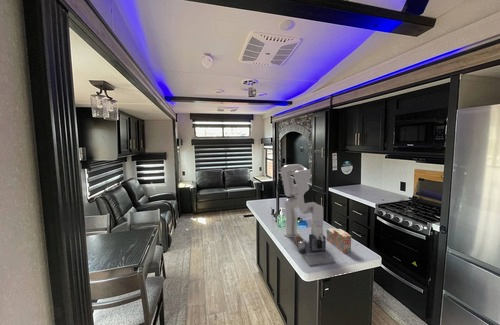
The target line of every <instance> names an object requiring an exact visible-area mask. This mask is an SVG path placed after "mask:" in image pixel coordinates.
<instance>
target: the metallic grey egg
mask: <svg viewBox="0 0 500 325" xmlns="http://www.w3.org/2000/svg"><path fill="white" fill-rule="evenodd" d="M298 245H299V246H298V253H300V254H306V252H307V251H306V250H307V249H306V245H307V244H306V241H305V240H303V241H299V242H298Z"/></svg>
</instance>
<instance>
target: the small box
mask: <svg viewBox="0 0 500 325" xmlns="http://www.w3.org/2000/svg"><path fill="white" fill-rule="evenodd" d="M308 236H309V237H308V249H309V250H310V251H311V253H314V252H326V251H327V248H326V247H327V246H326V245H327V244H326V243H327V242H326V240H327V236H326V235H324V234H323V240H324V241H323V242H322V248H319V249H318V240H317V239H316V238H315V237H314V236H313V235H312V234H311V233H309V234H308ZM319 239H321V238H319ZM319 241H321V240H319Z"/></svg>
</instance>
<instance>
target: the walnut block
mask: <svg viewBox="0 0 500 325" xmlns="http://www.w3.org/2000/svg"><path fill="white" fill-rule="evenodd" d="M293 239H294V245H295V246H296V247H299V245H298V242H299V241H304V238H302V237H301V236H298V237H293Z"/></svg>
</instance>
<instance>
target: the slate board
mask: <svg viewBox="0 0 500 325" xmlns="http://www.w3.org/2000/svg"><path fill="white" fill-rule="evenodd" d="M301 257H302V259H303V260H304V261H305V262H306V264H307V265H308V266H309V267H316V266H322V265H330V264H331V265H332V264H336V260H334V258H333V257H332V256H331V255H329V254H328V253H327V252H326V251H317V252H310V253H301Z"/></svg>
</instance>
